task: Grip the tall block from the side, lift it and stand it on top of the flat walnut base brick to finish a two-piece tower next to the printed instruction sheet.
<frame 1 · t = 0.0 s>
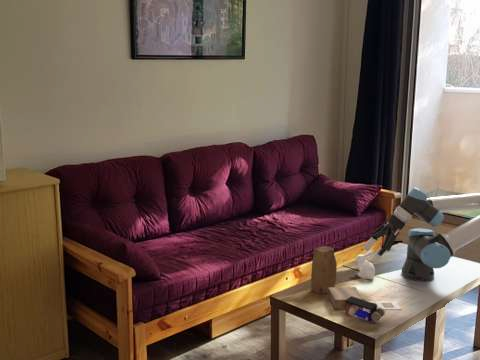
hand: (369, 254, 264), 15 cm above the table, tool tilted 35°, fingers open, 13 cm apart
tower base: (344, 304, 248), on the table
rabbit: (364, 276, 281), on the table
block: (323, 290, 262), on the table
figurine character: (363, 319, 235), on the table
instruction sheet: (380, 305, 247), on the table
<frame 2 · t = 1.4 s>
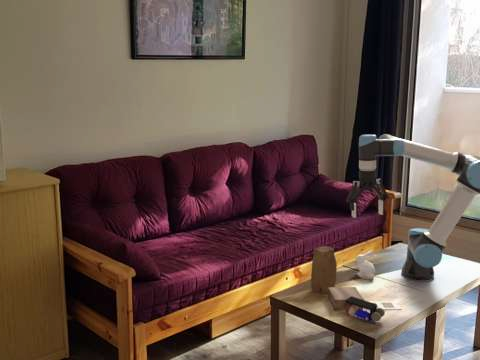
hand: (367, 215, 265), 32 cm above the table, tool pointing down, fingers open, 13 cm apart
nothing on the table moved.
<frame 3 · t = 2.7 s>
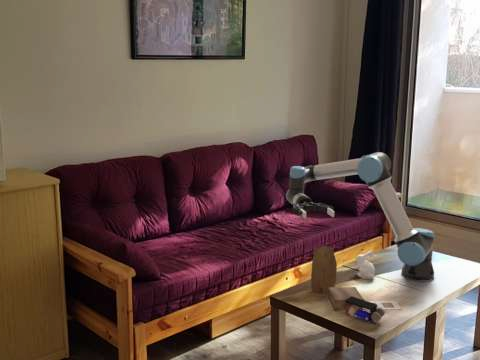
hand: (319, 214, 264), 33 cm above the table, tool horizontal, fingers open, 13 cm apart
nothing on the table moved.
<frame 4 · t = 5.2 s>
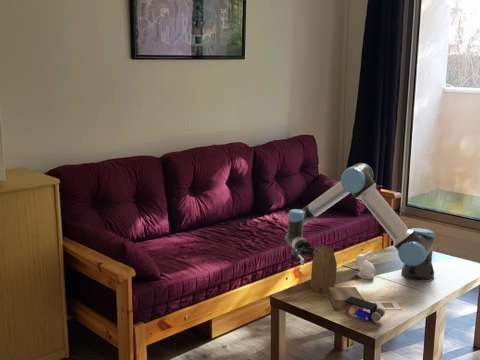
hand: (317, 261, 267), 11 cm above the table, tool horizontal, fingers open, 13 cm apart
nothing on the table moved.
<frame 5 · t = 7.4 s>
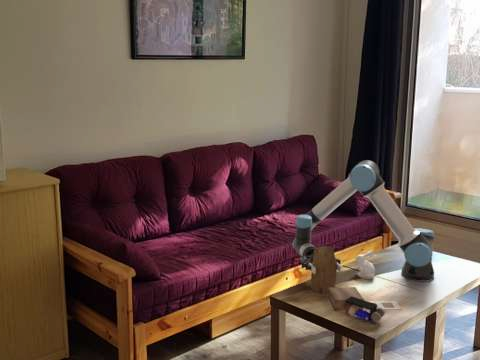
hand: (327, 270, 256), 11 cm above the table, tool horizontal, fingers closed on block, 11 cm apart
block: (323, 290, 262), on the table, touching gripper
everything else where it was.
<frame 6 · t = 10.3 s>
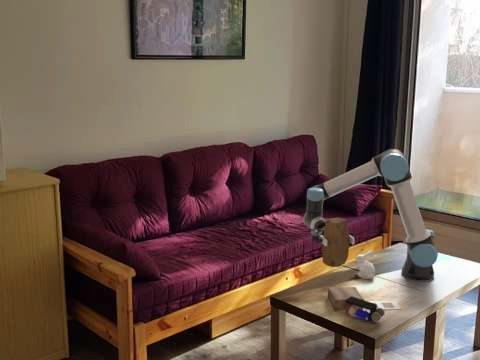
hand: (340, 242, 244), 27 cm above the table, tool horizontal, fingers closed on block, 11 cm apart
block: (335, 264, 250), point 16 cm above the table, touching gripper
everything else where it was.
when the fingers open (17 cm above the table, at t = 13.2 s): block drops 1 cm, resting on tower base.
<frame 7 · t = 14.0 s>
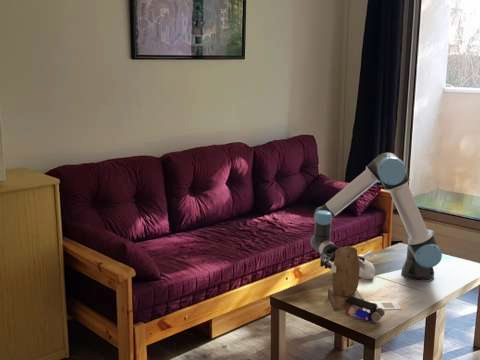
hand: (350, 268, 241), 17 cm above the table, tool horizontal, fingers open, 13 cm apart
block: (345, 293, 247), point 5 cm above the table, touching tower base
everything else where it was.
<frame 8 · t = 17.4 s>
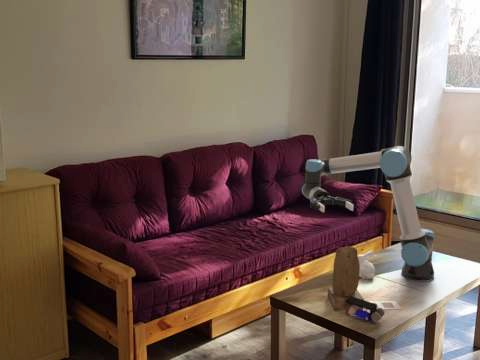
hand: (338, 208, 254), 38 cm above the table, tool horizontal, fingers open, 13 cm apart
nothing on the table moved.
at the end: block 0.1 cm from the tower base (horizontally); block touching tower base; block tilted 0° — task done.
